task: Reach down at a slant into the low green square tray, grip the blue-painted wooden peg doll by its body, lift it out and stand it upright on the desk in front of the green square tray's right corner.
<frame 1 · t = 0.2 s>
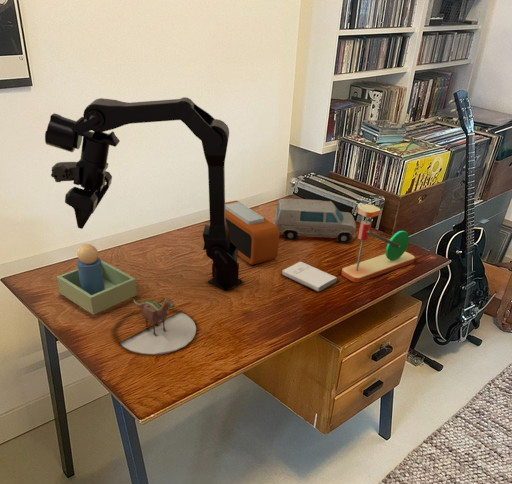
hand: (85, 220, 128), 15 cm above the table, tool pointing down, fingers open, 9 cm apart
alarm clock: (242, 248, 155), on the table
peg doll: (93, 294, 128), point 1 cm above the table, touching green square tray
toy car: (312, 235, 165), on the table
dinosaur: (155, 331, 119), on the table
hard drive: (308, 279, 142), on the table
green square tray: (99, 297, 129), on the table
crank mechanism: (378, 267, 150), on the table
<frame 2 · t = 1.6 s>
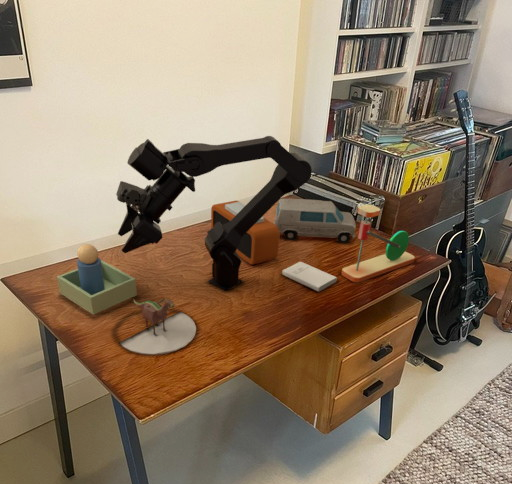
hand: (121, 243, 123), 14 cm above the table, tool tilted 40°, fingers open, 9 cm apart
nothing on the table moved.
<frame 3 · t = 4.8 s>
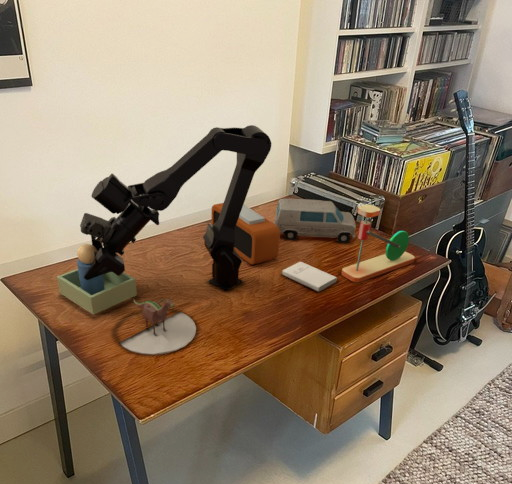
hand: (84, 272, 124), 7 cm above the table, tool tilted 45°, fingers closed on peg doll, 5 cm apart
peg doll: (93, 294, 128), point 1 cm above the table, touching green square tray, gripper
everything else where it was.
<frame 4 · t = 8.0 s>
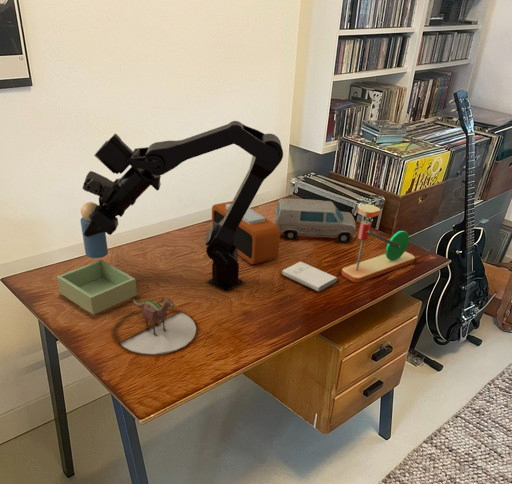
hand: (88, 230, 128), 13 cm above the table, tool tilted 45°, fingers closed on peg doll, 5 cm apart
peg doll: (96, 253, 131), point 7 cm above the table, touching gripper
everything else where it was.
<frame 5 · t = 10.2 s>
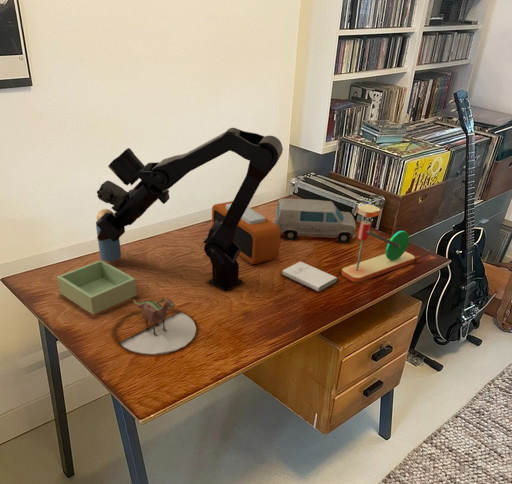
hand: (103, 234, 137), 9 cm above the table, tool tilted 45°, fingers closed on peg doll, 5 cm apart
peg doll: (110, 256, 140), point 3 cm above the table, touching gripper
everything else where it was.
when the fingers open (6 cm above the table, at t = 11.5 s): peg doll stays where it is, on the table.
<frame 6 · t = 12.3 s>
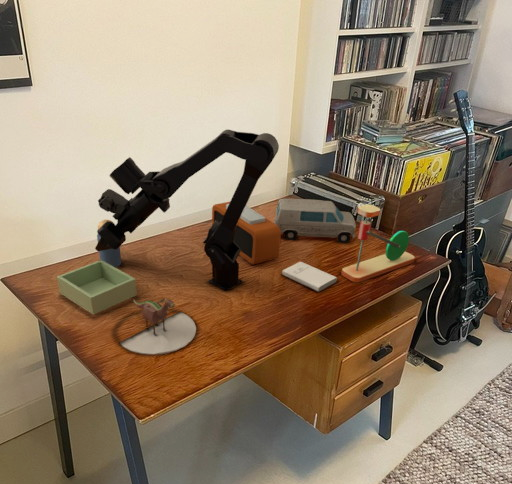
hand: (104, 242, 138), 7 cm above the table, tool tilted 45°, fingers open, 9 cm apart
peg doll: (111, 266, 142), on the table
everything else where it was.
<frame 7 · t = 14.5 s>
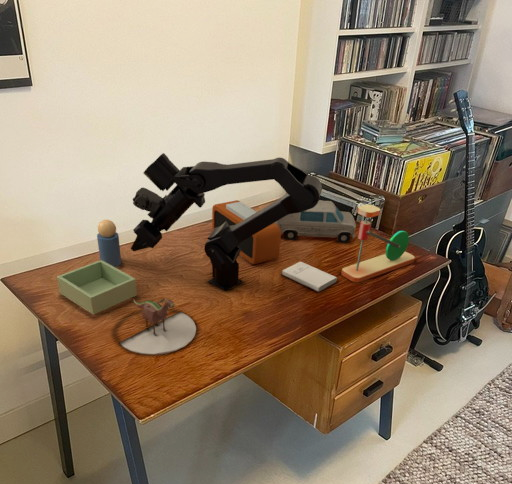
hand: (139, 242, 136), 8 cm above the table, tool tilted 40°, fingers open, 9 cm apart
nothing on the table moved.
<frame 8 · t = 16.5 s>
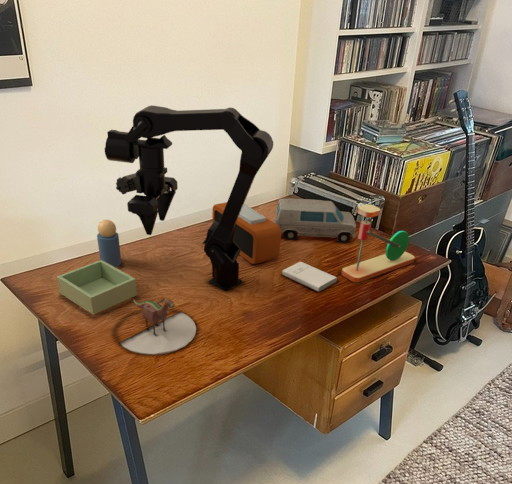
hand: (155, 227, 132), 13 cm above the table, tool pointing down, fingers open, 9 cm apart
nothing on the table moved.
at the end: peg doll inside the target area (0.1 cm from its centre), on the table; peg doll tilted 0°; the gripper is holding nothing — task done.
